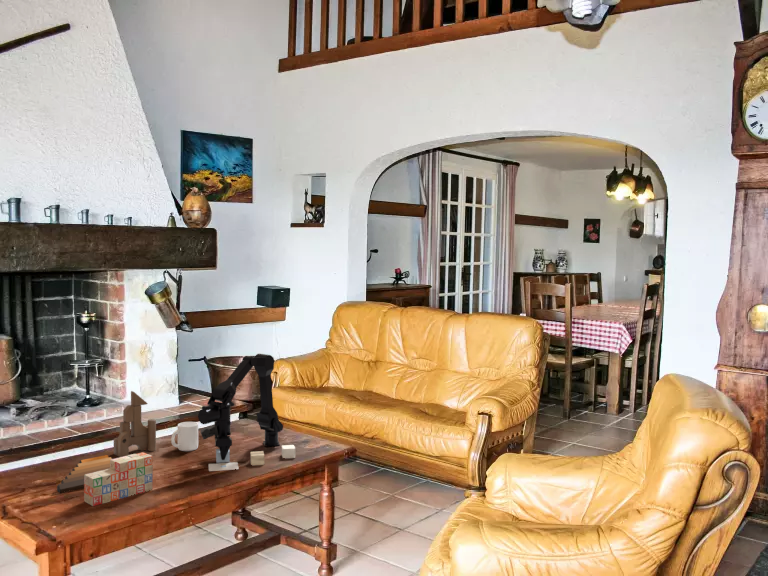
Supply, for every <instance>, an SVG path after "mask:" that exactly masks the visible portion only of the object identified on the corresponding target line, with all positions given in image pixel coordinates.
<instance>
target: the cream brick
mask: <svg viewBox="0 0 768 576" xmlns="http://www.w3.org/2000/svg"><path fill="white" fill-rule="evenodd" d="M281 457H282V459H283V458H285V459H295V458H296V446H295V445H294V444H288V445H287V444H285V445H283V444H282V445H281Z"/></svg>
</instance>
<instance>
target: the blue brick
mask: <svg viewBox="0 0 768 576" xmlns="http://www.w3.org/2000/svg"><path fill="white" fill-rule="evenodd" d="M230 455H231V453H230V449H229V450H228V453H227V455H226V457H225V460H222V459H221V454H220V449H219V448H216V449H215V460H216V463H215V464H218V463H231V460H230V458H231V456H230Z"/></svg>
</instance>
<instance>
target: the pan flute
mask: <svg viewBox="0 0 768 576" xmlns="http://www.w3.org/2000/svg"><path fill="white" fill-rule="evenodd" d="M111 459H113V458H112V457H111V456H110V457H109V455H108V454H103V455H99V456H95V457H89V458H85V459H81V460H80V461H79V462H78V463H76V466H75V467H73V468H72V471H70V472H69V473H68V474H67V475H65V477H64V479H62V480H61V482H60V483H59V484H58V485H57V486H56V489H57V493H59V494H64V493H68V492H72V491H78V490H82V489H84V475H85V474H89V473H94V472H97V471H102V470H106V469H110V460H111Z"/></svg>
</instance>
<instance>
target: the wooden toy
mask: <svg viewBox="0 0 768 576" xmlns="http://www.w3.org/2000/svg"><path fill="white" fill-rule="evenodd" d="M145 405H146V406H147V405H148V402H147V401H146V400H145V399H143V398H142V397H141V396H140V395H139V394H137V392H135V391H133V390H131V391H130V404H128V405H126V407H124V409H123V410H122V417H123V418H122V421H119V435H118V437H116V438H113V455H114V456H117V457H118V458H120V457H124V456H127V455H130V453H129V452H130V451H129V449H130V447H131V446H134V445H135V446H137V450H139V451H140V452H142V451H148V452H154V451H155V452H156V451H157V437H156V436H157V421H156V420H157V419H155V418H152V419H151V418H150V419H148V420H147V426H146V425H144V424H143V423H142V406H145Z"/></svg>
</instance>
